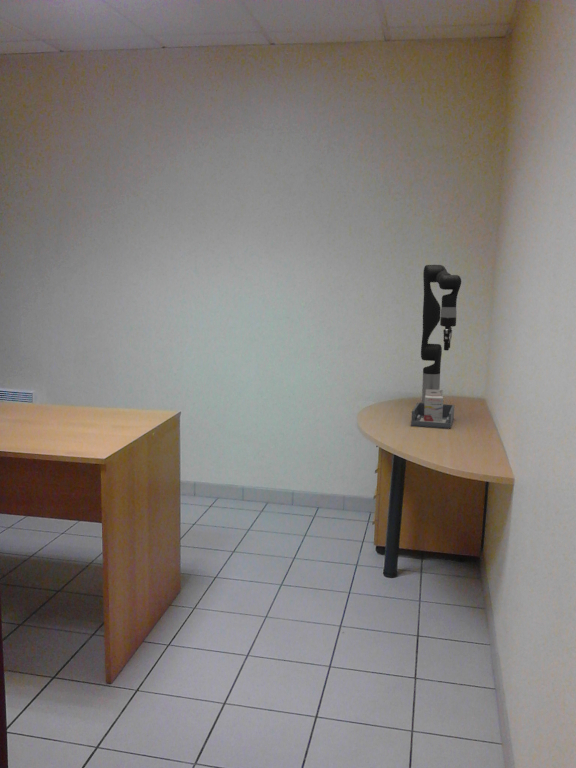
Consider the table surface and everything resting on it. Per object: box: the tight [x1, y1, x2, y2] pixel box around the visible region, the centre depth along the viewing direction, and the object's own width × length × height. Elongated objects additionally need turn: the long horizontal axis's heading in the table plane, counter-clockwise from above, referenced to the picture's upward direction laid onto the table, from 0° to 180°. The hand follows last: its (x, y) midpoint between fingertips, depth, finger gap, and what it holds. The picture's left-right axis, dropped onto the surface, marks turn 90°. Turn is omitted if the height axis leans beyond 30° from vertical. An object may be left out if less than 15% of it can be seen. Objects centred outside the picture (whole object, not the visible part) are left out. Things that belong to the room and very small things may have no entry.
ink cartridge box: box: [424, 389, 444, 422], centre depth 313 cm, size 9×5×15 cm, turn 82°
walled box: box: [410, 402, 455, 430], centre depth 313 cm, size 22×18×7 cm
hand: (446, 349), depth 320 cm, fingers open, 8 cm apart
